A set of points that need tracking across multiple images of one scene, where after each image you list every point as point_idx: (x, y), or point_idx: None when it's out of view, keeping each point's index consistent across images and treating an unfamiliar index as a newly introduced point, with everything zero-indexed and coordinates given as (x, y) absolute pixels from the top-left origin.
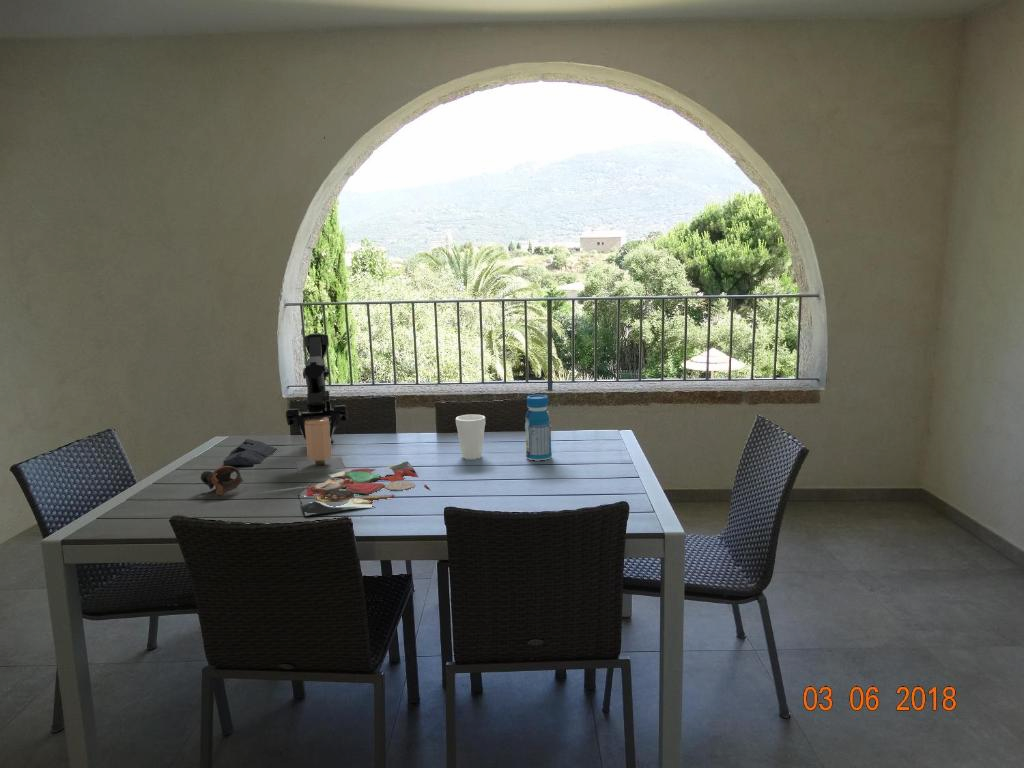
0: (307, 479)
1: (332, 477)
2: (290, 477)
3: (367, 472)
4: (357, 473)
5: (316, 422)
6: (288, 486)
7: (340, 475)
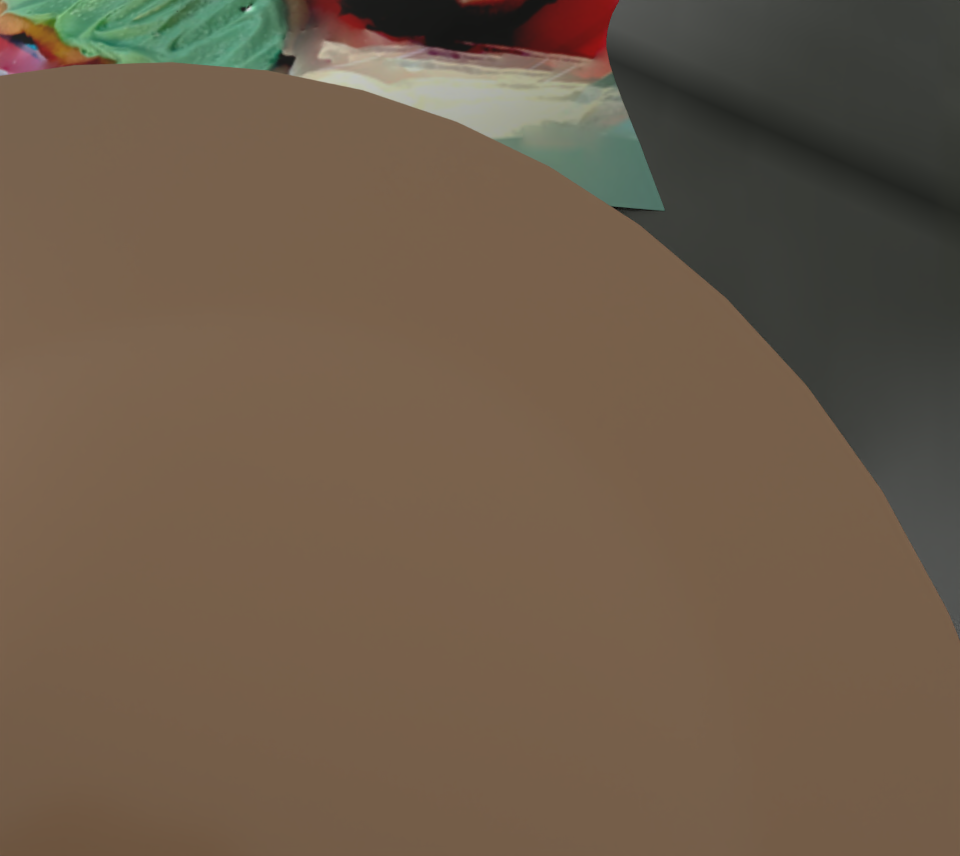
0: (704, 209)
1: (437, 69)
2: (907, 394)
3: (62, 38)
4: (166, 35)
5: (259, 81)
6: (937, 57)
7: (346, 61)
